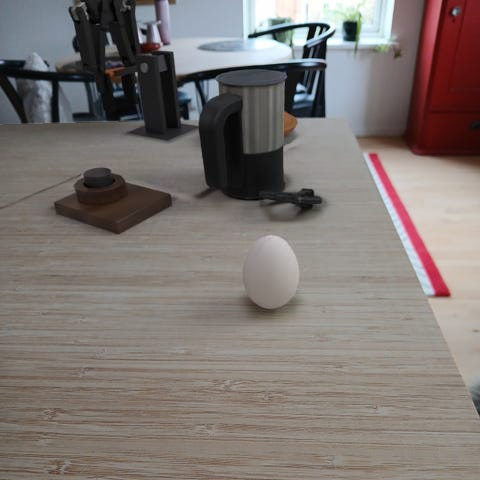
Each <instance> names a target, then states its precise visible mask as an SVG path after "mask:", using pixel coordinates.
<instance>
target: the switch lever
mask: <svg viewBox="0 0 480 480" xmlns="http://www.w3.org/2000/svg"><path fill="white" fill-rule="evenodd" d="M158 63H159V71H160V72H162V71H166V70H167V66H166V62H165V59H164V55H160V56H158ZM119 67H120V66H119ZM119 67H116V68H112V69H109V70H106V71H105V73H110V78H111V80H113V79H117V78H121V76H124V75H126V74H130V73H135V74H136V73H137V68H136V66H132V67H127V68H124V67H120V68H119Z"/></svg>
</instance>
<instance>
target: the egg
mask: <svg viewBox="0 0 480 480" xmlns="http://www.w3.org/2000/svg"><path fill="white" fill-rule="evenodd" d="M242 265H243V266H242V284H243V286H244V287H243V288H244V290H245V292H246V294H247V295H248V298H249V299H250V300H251V301H252V302H253V303H254V304H256V306H259V307H260V308H263V309H266V310H267V309H268V310H276V309H279V308H281V307H284V306H285V305H287V303H289V302H290V301H291V300H292V298H293V296H294V295H295V294H296V292H297V289H298V287H299V284H300V283H299V282H300V266H299V262H298V258H297V256H296V254H295V252H294V250H293V248H292V247H291V246H290V244H289V243H288V242H287V241H286V240H285V239H283V238H282V237H279V236H277V235H274V234H269V235H268V234H267V235H264V236H262V237H260V238H259V239H257V240H256V241H255V242H254V243H253V244H252V246H251V247H250V248H249V250H248V251H247V253H246V256H245V258H244V261H243V264H242Z"/></svg>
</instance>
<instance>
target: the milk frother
mask: <svg viewBox="0 0 480 480" xmlns="http://www.w3.org/2000/svg"><path fill="white" fill-rule="evenodd" d="M287 78H288V75H287V74H286V73H285V72H283V71H279V70H270V69H259V68H258V69H256V68H255V69H254V68H253V69H252V68H251V69H239V70H233V71H231V70H230V71H228V72H224V73H220V74H218V75H216V76H215V81H216V82H217V84H218V95H216V96H213V97H211V98H210V99H208V101H207V102H206V103H205V104H204V105H203V106H202V108H201V111H200V114H199V118H198V126H199V128H198V134H199V143H200V152H201V159H202V166H203V173H204V180H205V184H206V186H207V187H208V188H210V189H215V190H218V191H222V192H223V193H224V194H226V195H227V196H229V197H233V198H237V199H241V200H260V199H261V200H262V199H264V200H269V201H276V202H282V203H283V202H285V203H290V204H292V205H295V206H297V207H298V208H300V209H303V210H312V209H313V207H314V205H321V204H323V197H321V196H319V195H316V192H315V190H314V189H313V188H307V187H305V188H304V187H302V188H301V189H300V190H298V191H297V192H287V191H284V190H285V188H286V182H285V172H284V170H285V169H284V142H283V140H284V111H285V83H286V82H285V81H286V80H287Z"/></svg>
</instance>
